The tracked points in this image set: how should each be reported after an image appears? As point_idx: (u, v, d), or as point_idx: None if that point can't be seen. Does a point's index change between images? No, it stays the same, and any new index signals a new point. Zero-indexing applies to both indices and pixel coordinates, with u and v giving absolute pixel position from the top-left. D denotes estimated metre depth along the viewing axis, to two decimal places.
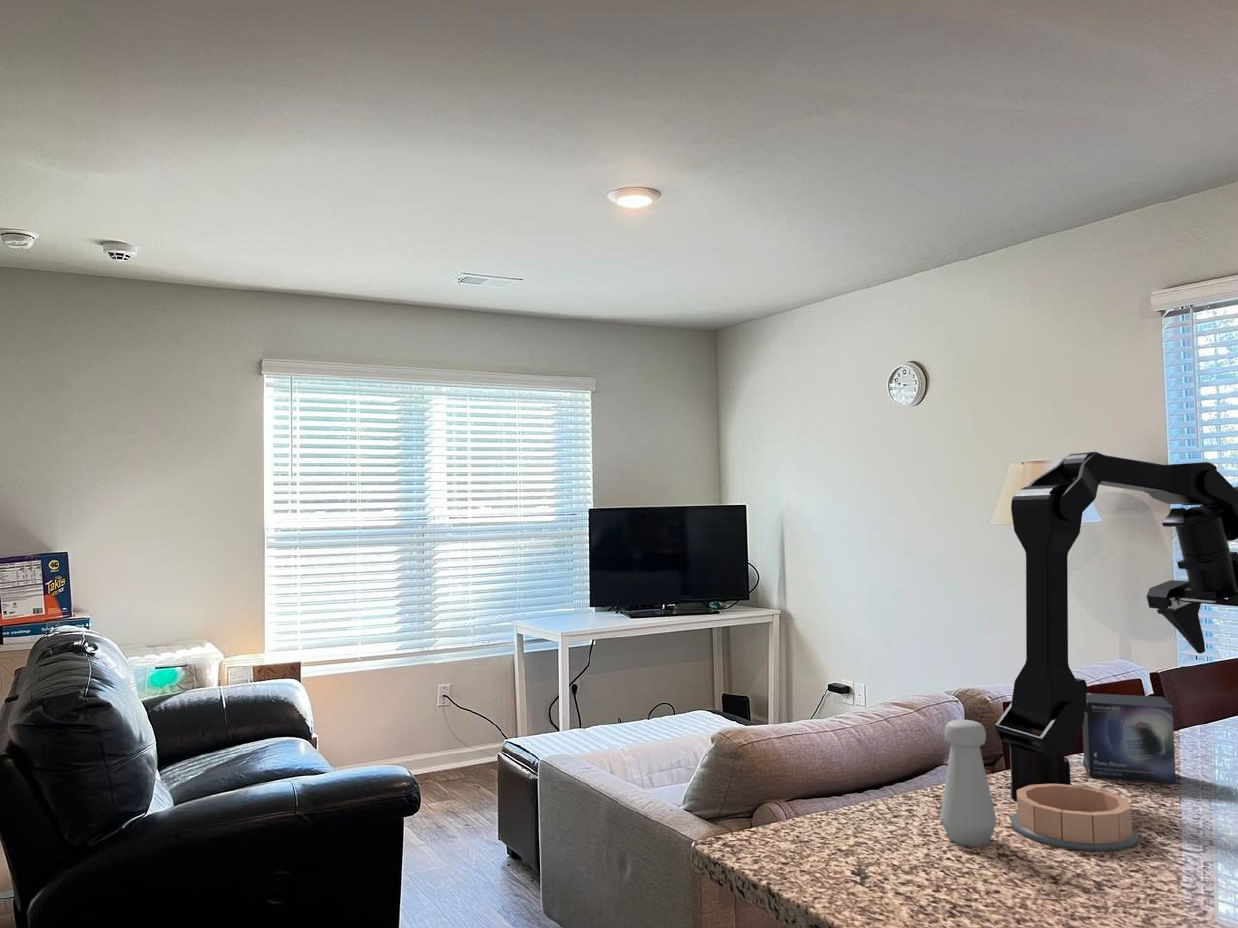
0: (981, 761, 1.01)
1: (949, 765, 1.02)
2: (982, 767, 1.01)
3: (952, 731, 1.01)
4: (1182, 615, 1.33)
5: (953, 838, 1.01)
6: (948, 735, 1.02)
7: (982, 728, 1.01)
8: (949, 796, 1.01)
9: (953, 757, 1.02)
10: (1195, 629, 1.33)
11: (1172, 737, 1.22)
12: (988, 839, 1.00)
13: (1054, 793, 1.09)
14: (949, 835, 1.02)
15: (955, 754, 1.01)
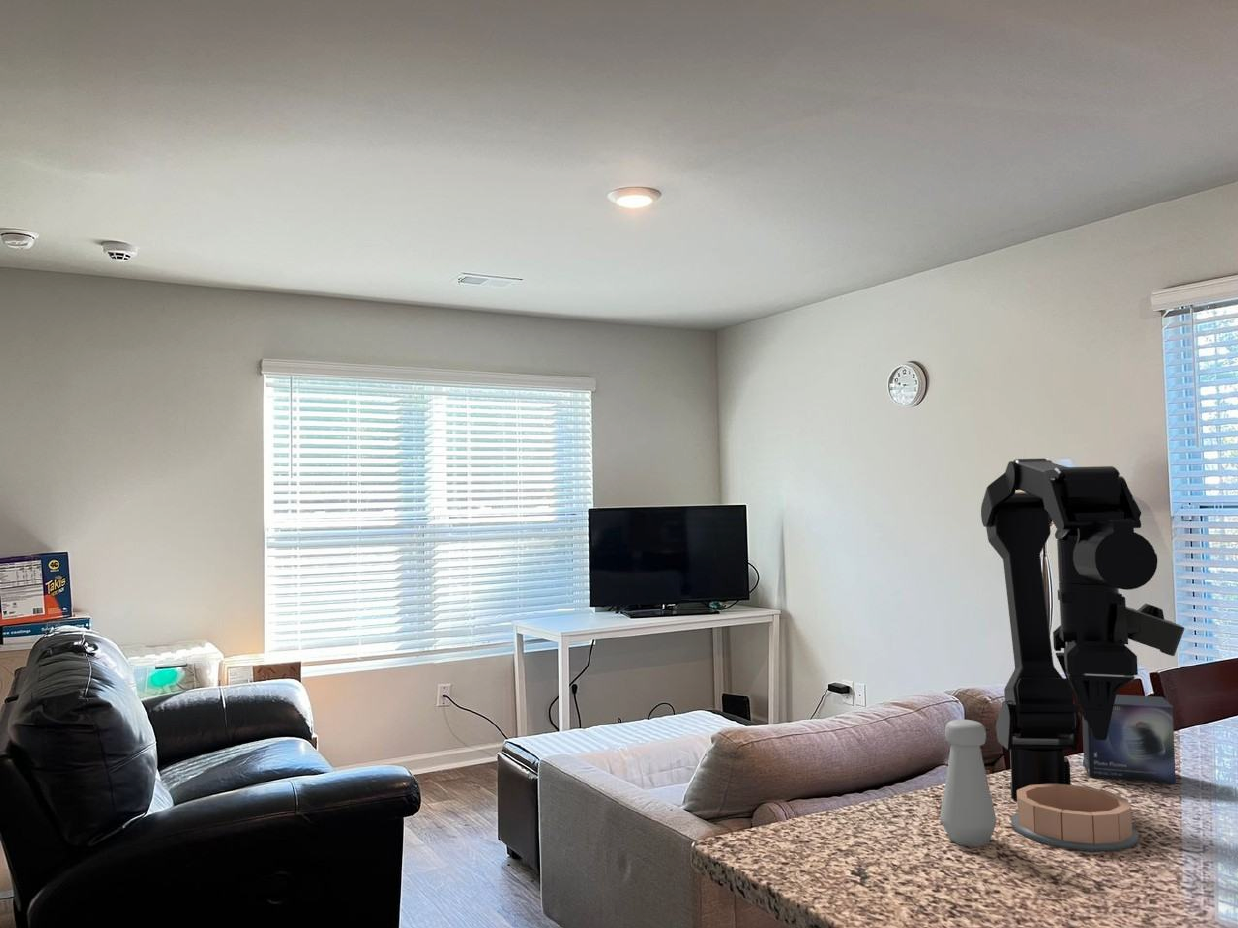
0: (981, 761, 1.01)
1: (949, 765, 1.02)
2: (982, 767, 1.01)
3: (952, 731, 1.01)
4: None
5: (953, 838, 1.01)
6: (948, 735, 1.02)
7: (982, 728, 1.01)
8: (949, 796, 1.01)
9: (953, 757, 1.02)
10: None
11: (1172, 737, 1.22)
12: (988, 839, 1.00)
13: (1054, 793, 1.09)
14: (949, 835, 1.02)
15: (956, 754, 1.01)
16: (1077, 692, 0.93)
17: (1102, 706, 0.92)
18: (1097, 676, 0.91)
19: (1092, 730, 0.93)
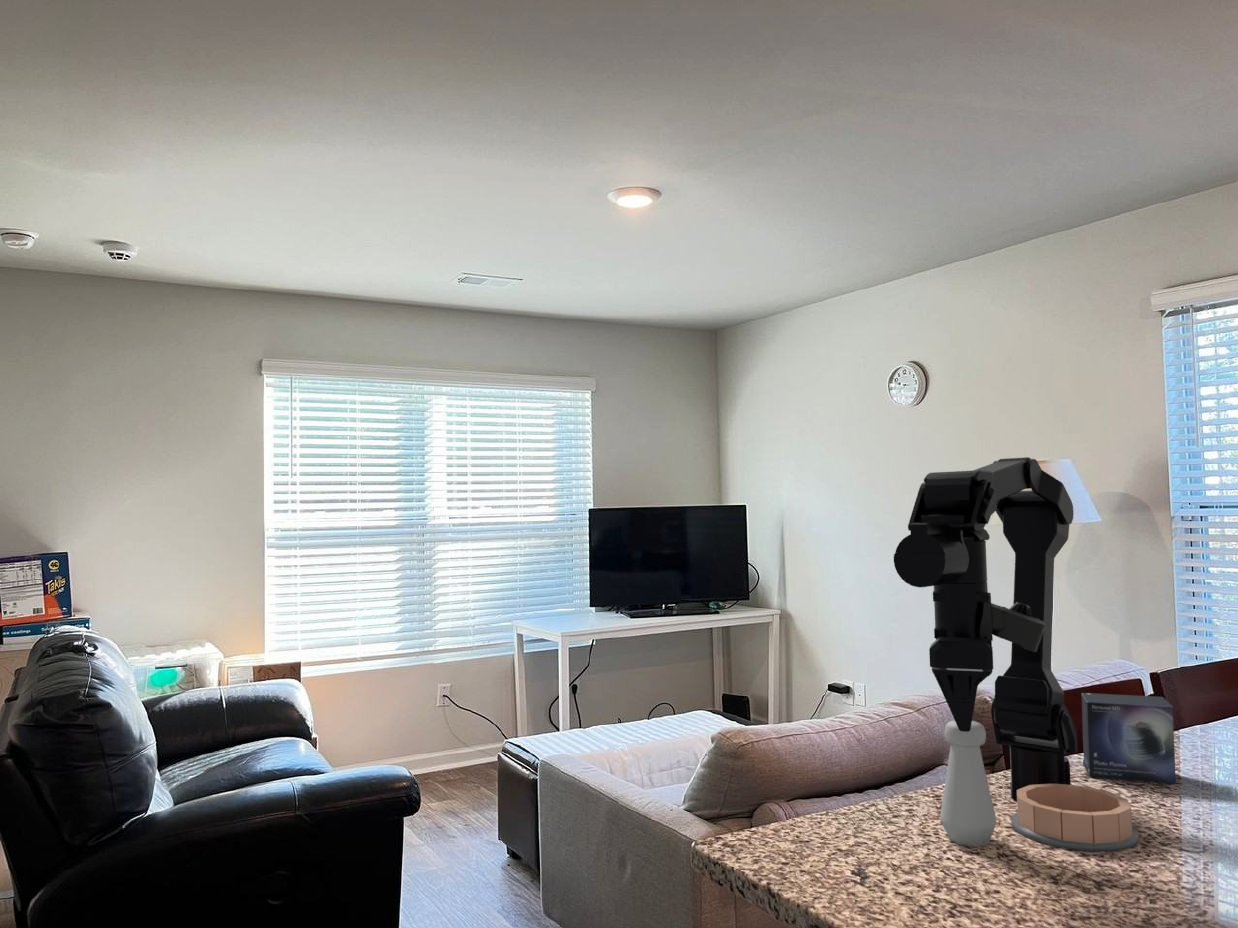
0: (981, 761, 1.01)
1: (949, 765, 1.02)
2: (982, 767, 1.01)
3: (952, 731, 1.01)
4: None
5: (953, 838, 1.01)
6: (948, 735, 1.02)
7: (982, 728, 1.01)
8: (949, 796, 1.01)
9: (953, 757, 1.02)
10: None
11: (1172, 737, 1.22)
12: (988, 839, 1.00)
13: (1054, 793, 1.09)
14: (949, 835, 1.02)
15: (955, 754, 1.01)
16: (942, 686, 0.98)
17: (965, 699, 0.97)
18: (958, 670, 0.96)
19: (957, 722, 0.98)
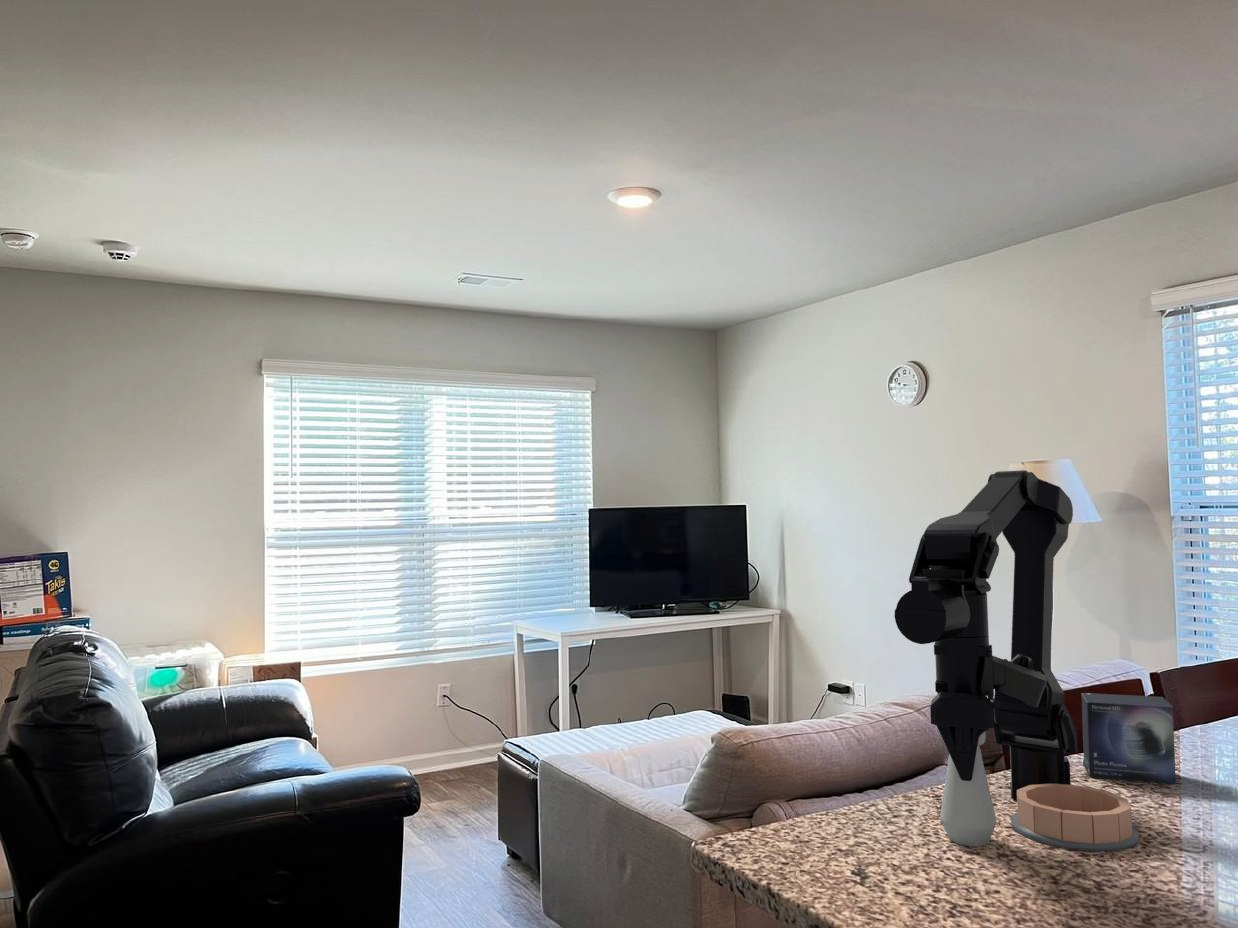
0: (981, 761, 1.01)
1: (949, 765, 1.02)
2: (982, 767, 1.01)
3: None
4: None
5: (953, 838, 1.01)
6: None
7: None
8: (949, 796, 1.01)
9: None
10: None
11: (1172, 737, 1.22)
12: (988, 839, 1.00)
13: (1054, 793, 1.09)
14: (949, 835, 1.02)
15: None
16: (944, 736, 1.00)
17: (966, 749, 0.99)
18: None
19: (958, 771, 1.00)
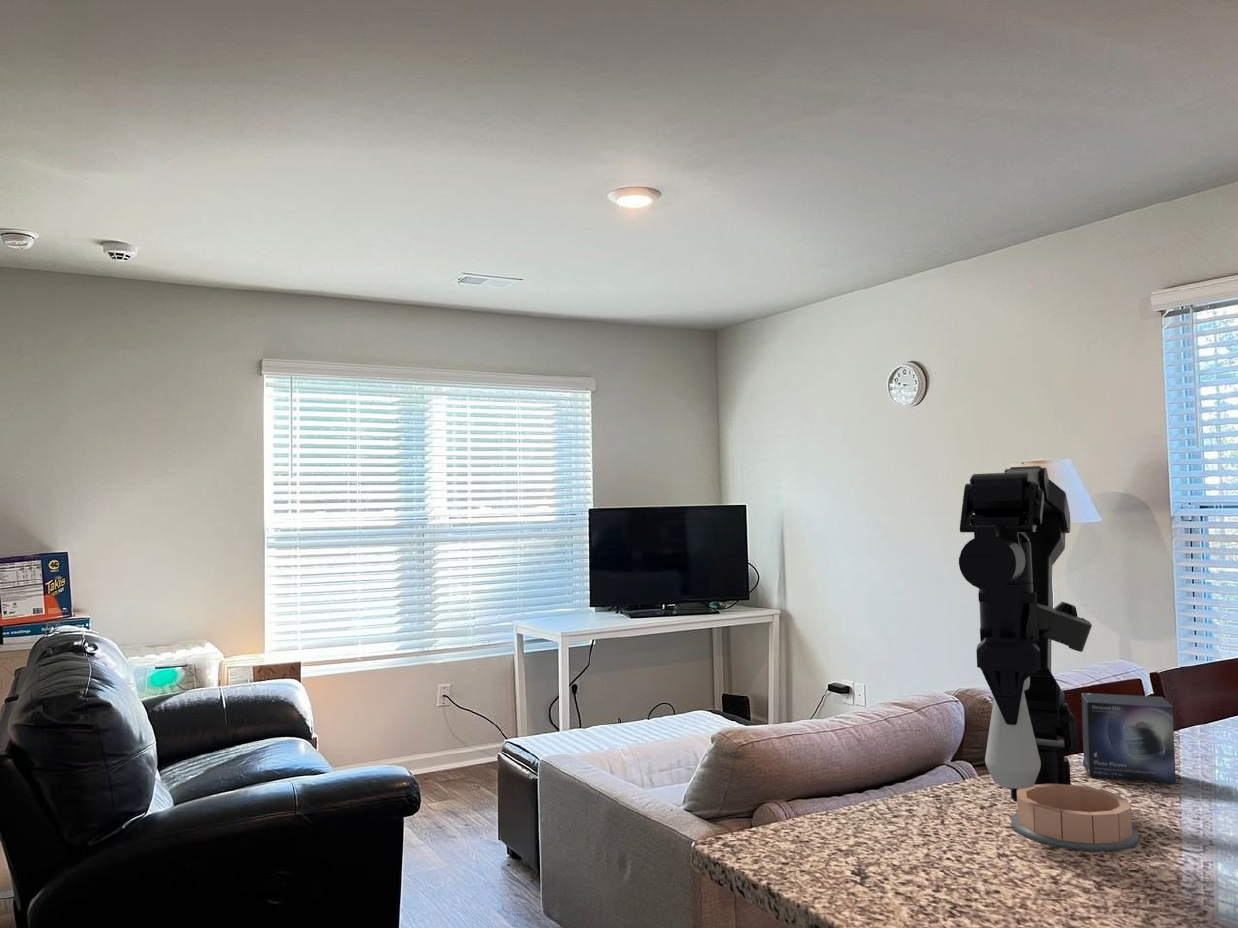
0: (1025, 706, 1.03)
1: (993, 710, 1.04)
2: (1026, 711, 1.02)
3: None
4: None
5: (998, 781, 1.03)
6: None
7: None
8: (994, 740, 1.03)
9: None
10: None
11: (1172, 737, 1.22)
12: (1033, 782, 1.02)
13: (1054, 793, 1.09)
14: (994, 778, 1.04)
15: None
16: (989, 681, 1.01)
17: (1012, 694, 1.01)
18: None
19: (1003, 716, 1.02)
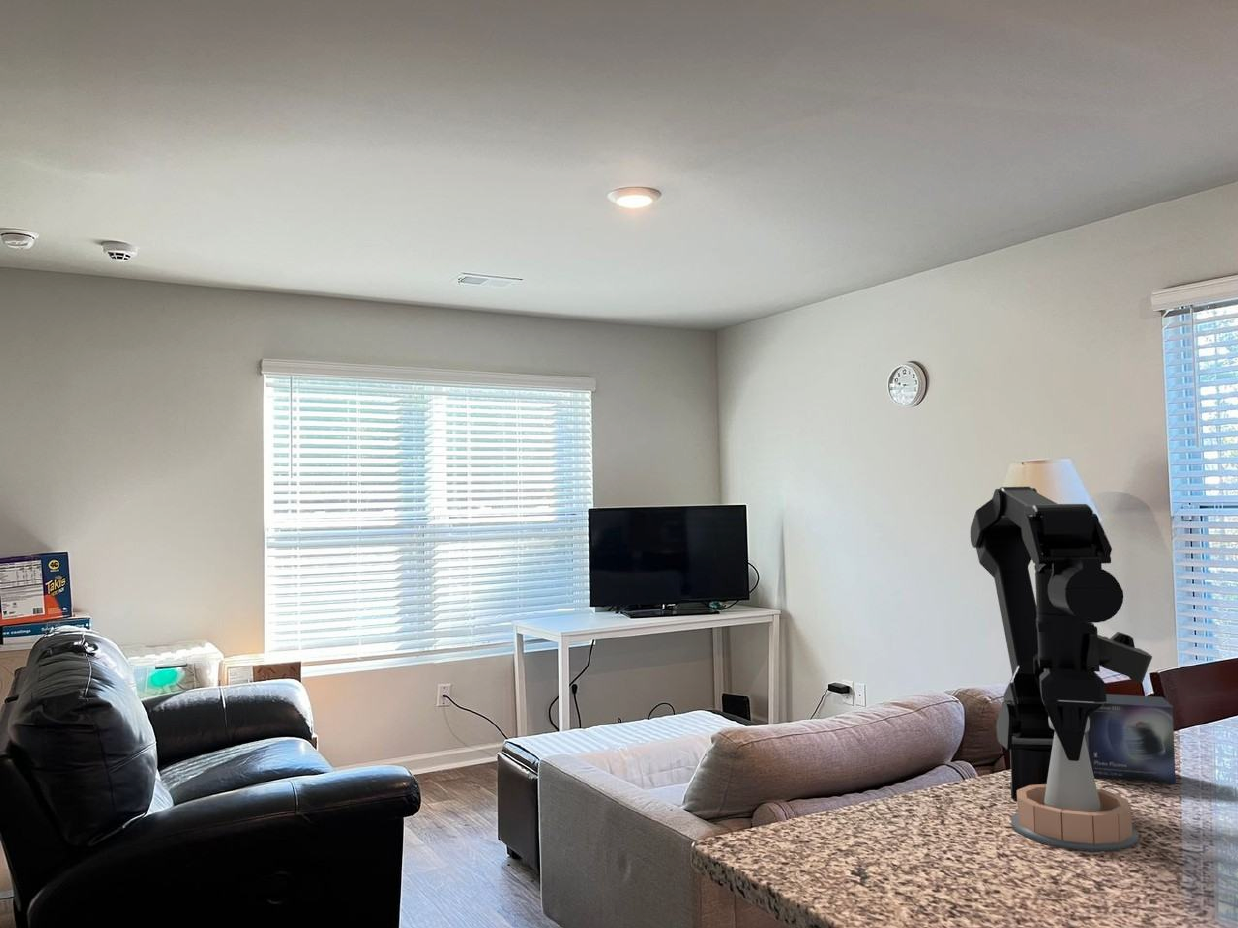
0: (1086, 748, 1.04)
1: (1053, 751, 1.05)
2: (1087, 753, 1.03)
3: None
4: None
5: None
6: None
7: None
8: (1054, 782, 1.04)
9: (1057, 744, 1.04)
10: None
11: (1172, 737, 1.22)
12: None
13: None
14: None
15: None
16: (1051, 716, 1.00)
17: (1074, 729, 1.00)
18: (1069, 702, 0.98)
19: (1065, 751, 1.00)
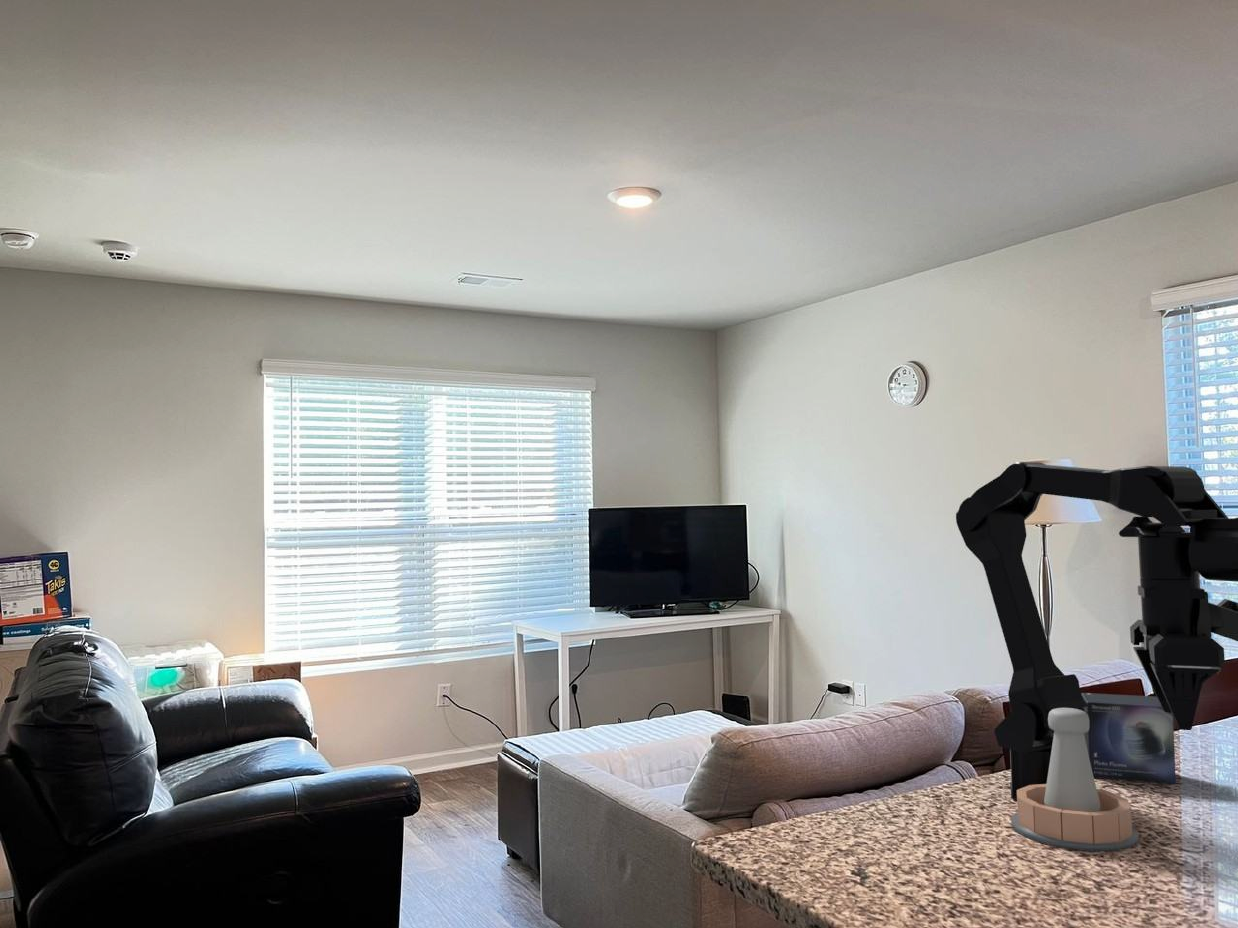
0: (1085, 748, 1.03)
1: (1053, 752, 1.05)
2: (1086, 754, 1.03)
3: (1056, 719, 1.04)
4: None
5: None
6: (1052, 722, 1.04)
7: (1086, 716, 1.04)
8: (1054, 782, 1.04)
9: (1057, 744, 1.04)
10: None
11: (1172, 737, 1.22)
12: None
13: None
14: None
15: (1060, 741, 1.04)
16: (1163, 684, 0.96)
17: (1187, 697, 0.96)
18: (1184, 668, 0.94)
19: (1177, 720, 0.97)
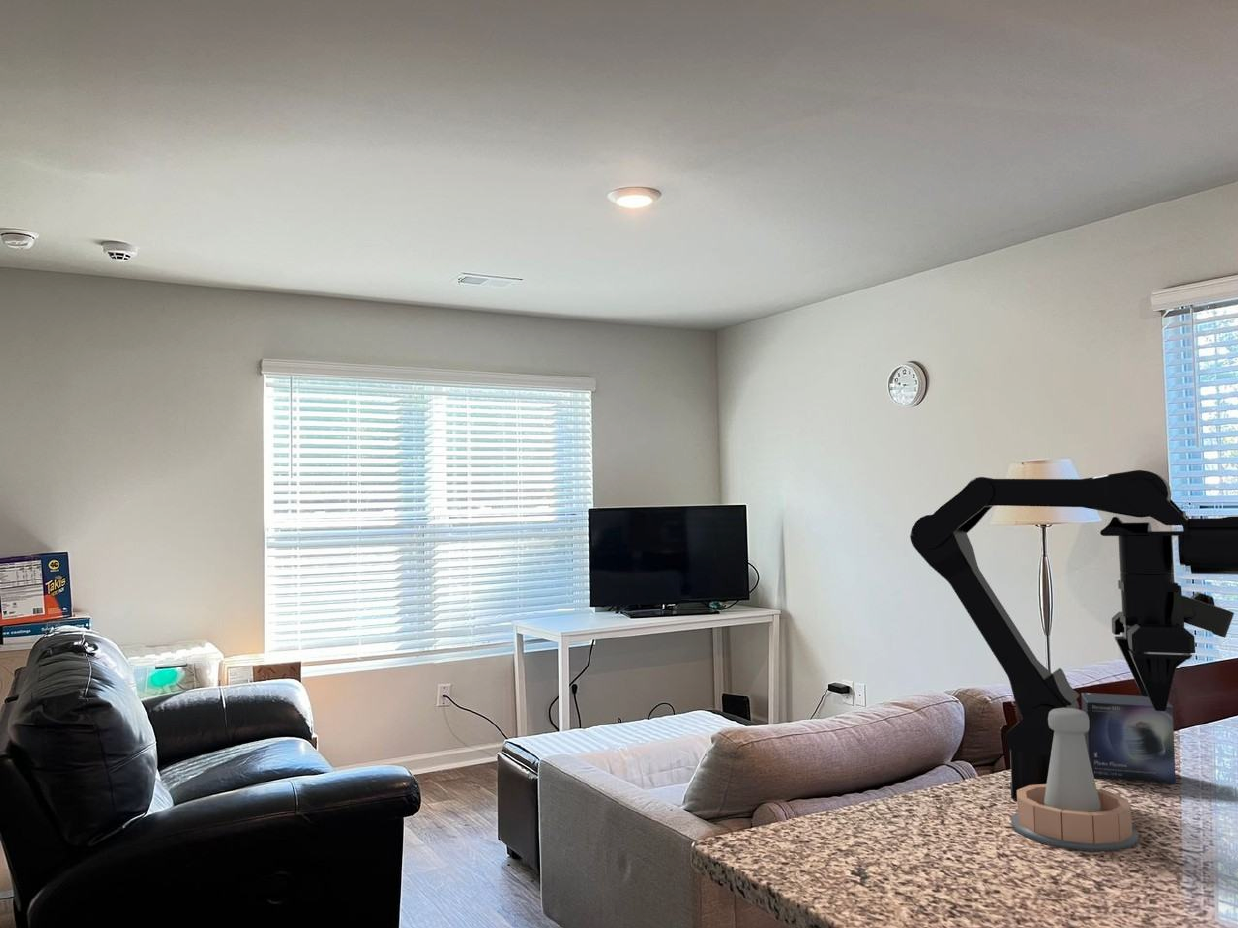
0: (1085, 748, 1.03)
1: (1053, 752, 1.05)
2: (1086, 754, 1.03)
3: (1057, 719, 1.04)
4: None
5: None
6: (1052, 722, 1.04)
7: (1086, 716, 1.04)
8: (1054, 782, 1.04)
9: (1057, 744, 1.04)
10: None
11: (1172, 737, 1.22)
12: None
13: None
14: None
15: (1060, 741, 1.04)
16: (1140, 669, 1.06)
17: (1162, 681, 1.05)
18: (1158, 654, 1.04)
19: (1153, 702, 1.06)
